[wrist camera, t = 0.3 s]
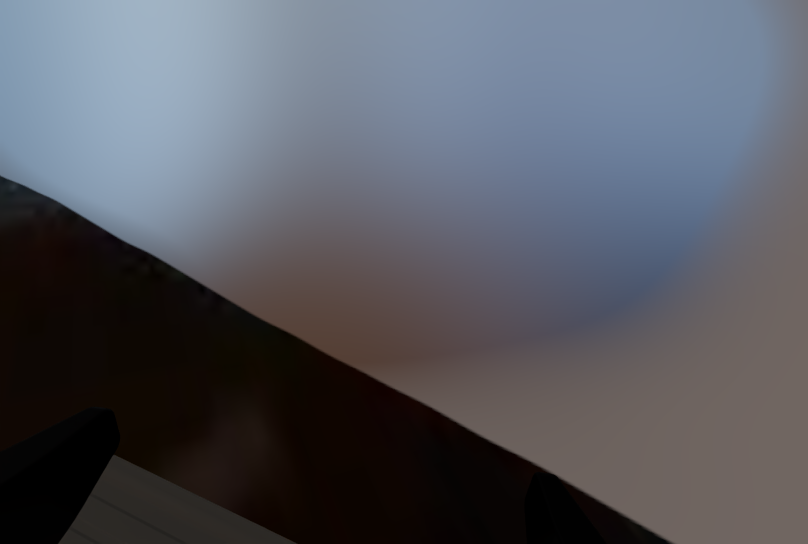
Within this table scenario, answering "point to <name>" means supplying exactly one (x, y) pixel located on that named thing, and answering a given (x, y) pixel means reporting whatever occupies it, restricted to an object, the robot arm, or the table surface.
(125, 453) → the table surface
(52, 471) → the robot arm
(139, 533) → the baseboard molding
